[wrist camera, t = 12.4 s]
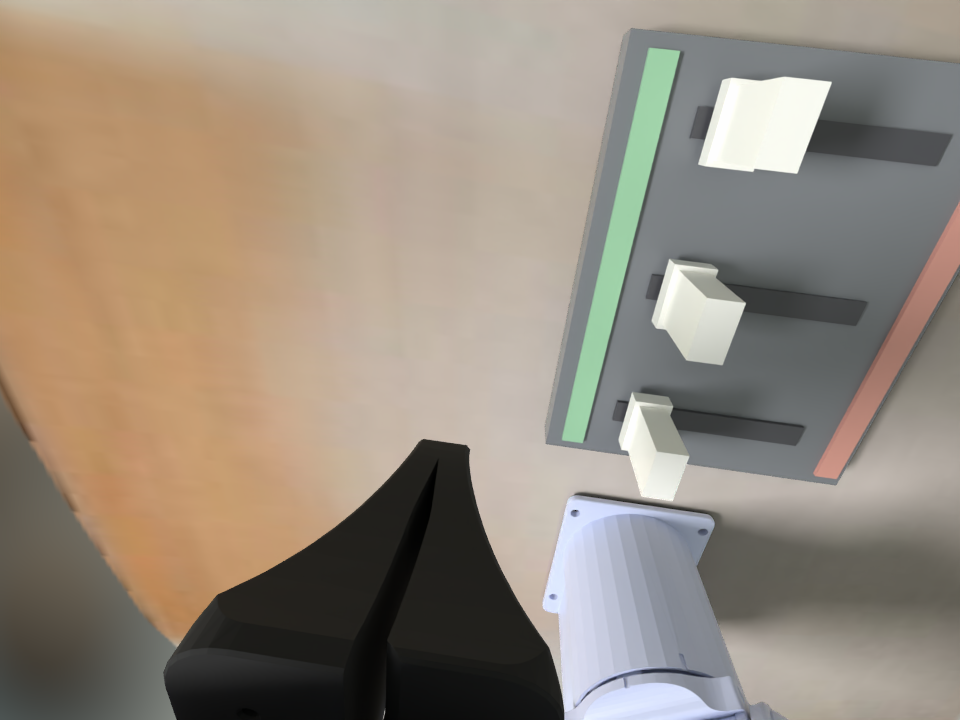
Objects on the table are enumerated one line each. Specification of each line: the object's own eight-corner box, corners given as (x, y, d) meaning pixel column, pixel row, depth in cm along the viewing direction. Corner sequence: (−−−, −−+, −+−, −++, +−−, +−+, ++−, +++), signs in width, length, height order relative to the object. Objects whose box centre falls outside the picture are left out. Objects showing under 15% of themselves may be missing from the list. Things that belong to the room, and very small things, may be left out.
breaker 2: (743, 169, 17) (801, 182, 13) (698, 164, 17) (743, 175, 13) (771, 85, 16) (843, 73, 12) (722, 79, 16) (779, 66, 12)
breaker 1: (652, 444, 22) (676, 505, 19) (618, 439, 22) (635, 499, 19) (668, 396, 21) (696, 452, 17) (632, 392, 21) (653, 446, 17)
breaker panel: (819, 465, 24) (838, 488, 23) (545, 426, 25) (546, 446, 23) (1028, 79, 16) (1078, 74, 15) (623, 35, 17) (632, 27, 15)
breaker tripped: (690, 325, 19) (726, 371, 16) (651, 320, 20) (678, 364, 16) (711, 263, 18) (755, 297, 15) (669, 258, 18) (703, 291, 15)
